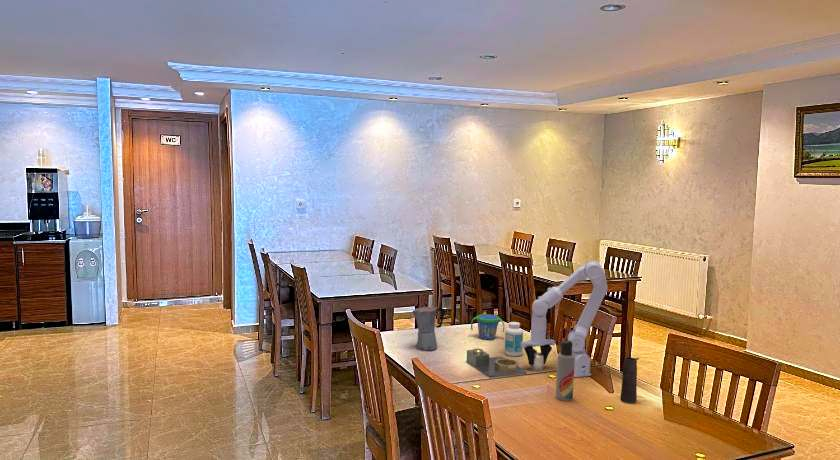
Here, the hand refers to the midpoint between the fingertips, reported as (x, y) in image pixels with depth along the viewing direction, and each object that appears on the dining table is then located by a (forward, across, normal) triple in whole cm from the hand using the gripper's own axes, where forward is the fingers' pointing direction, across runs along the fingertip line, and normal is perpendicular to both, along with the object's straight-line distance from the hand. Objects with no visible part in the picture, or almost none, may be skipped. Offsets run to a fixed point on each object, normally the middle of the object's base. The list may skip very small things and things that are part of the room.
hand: (537, 364), depth 233 cm
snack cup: (+2, -2, -46) cm, 46 cm away
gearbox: (+2, +15, -6) cm, 16 cm away
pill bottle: (+2, -1, -20) cm, 20 cm away
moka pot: (+2, +31, -38) cm, 49 cm away
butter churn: (+2, -13, +39) cm, 41 cm away
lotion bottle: (+2, +8, +30) cm, 31 cm away
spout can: (+2, 0, 0) cm, 2 cm away
